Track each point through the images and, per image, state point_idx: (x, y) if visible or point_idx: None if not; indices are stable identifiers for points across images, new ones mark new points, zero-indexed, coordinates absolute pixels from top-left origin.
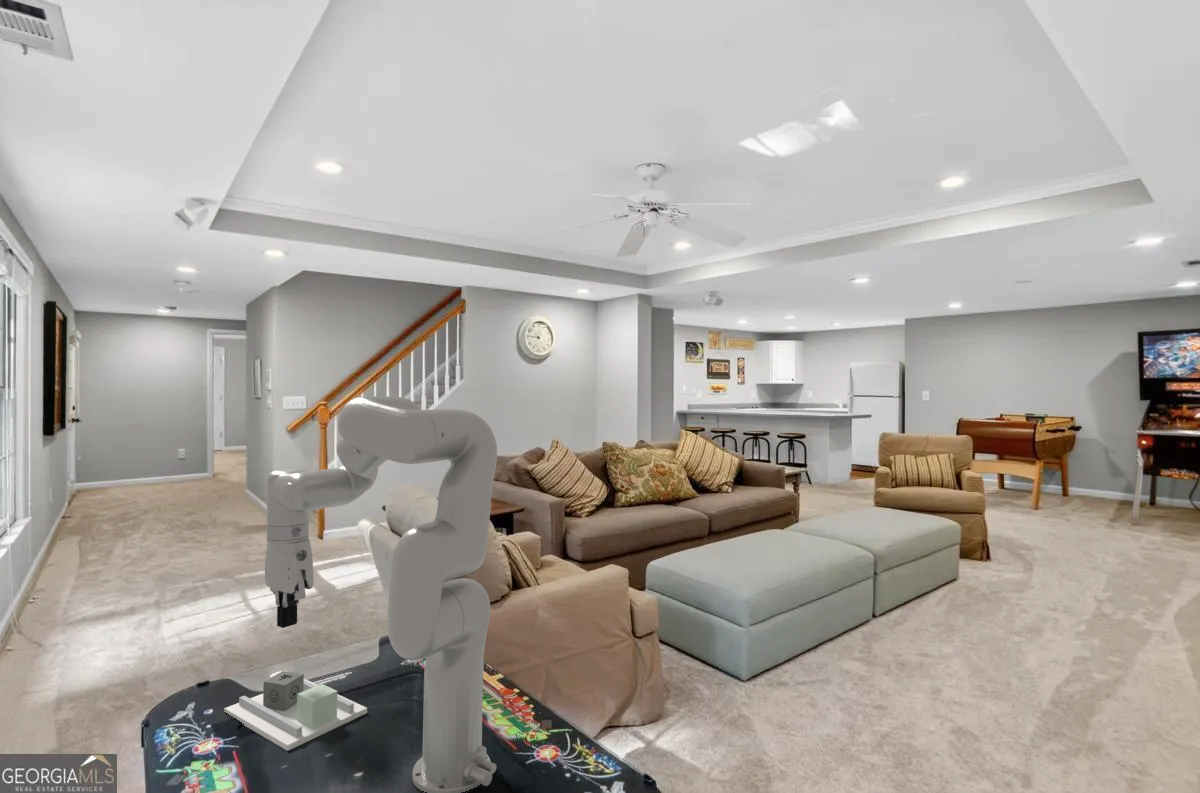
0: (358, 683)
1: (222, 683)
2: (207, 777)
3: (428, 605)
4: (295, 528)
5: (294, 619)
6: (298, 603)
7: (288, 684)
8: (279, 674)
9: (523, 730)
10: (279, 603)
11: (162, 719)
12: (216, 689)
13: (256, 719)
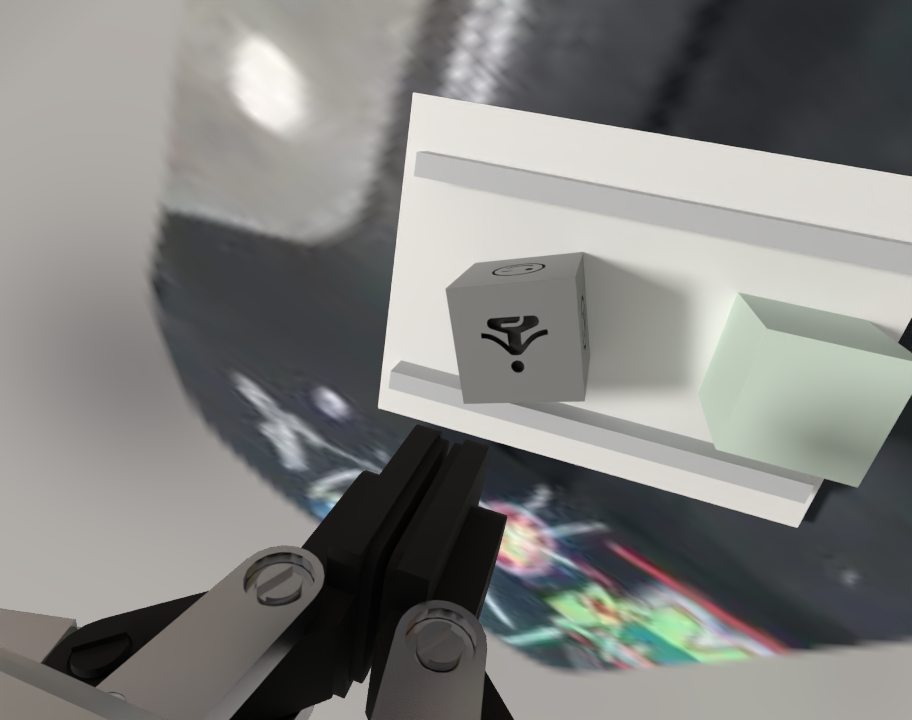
0: None
1: (179, 248)
2: (655, 646)
3: None
4: None
5: (504, 524)
6: (482, 630)
7: (583, 377)
8: (465, 326)
9: None
10: (312, 707)
11: (273, 473)
12: (208, 289)
13: (543, 431)
